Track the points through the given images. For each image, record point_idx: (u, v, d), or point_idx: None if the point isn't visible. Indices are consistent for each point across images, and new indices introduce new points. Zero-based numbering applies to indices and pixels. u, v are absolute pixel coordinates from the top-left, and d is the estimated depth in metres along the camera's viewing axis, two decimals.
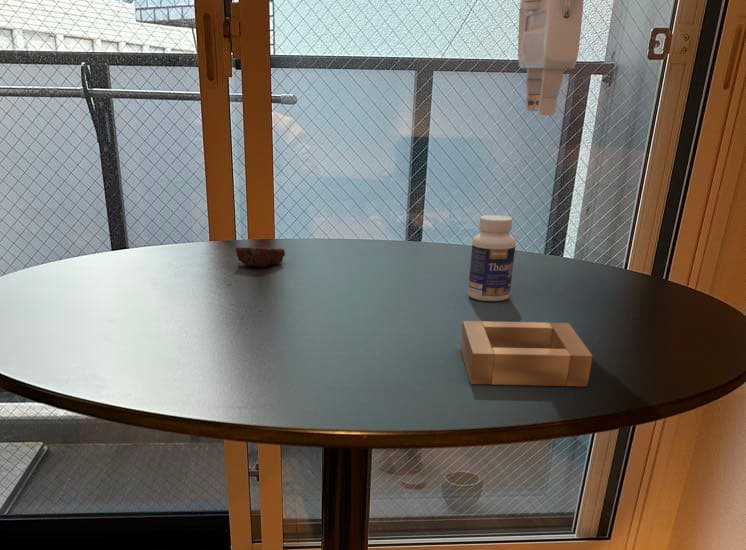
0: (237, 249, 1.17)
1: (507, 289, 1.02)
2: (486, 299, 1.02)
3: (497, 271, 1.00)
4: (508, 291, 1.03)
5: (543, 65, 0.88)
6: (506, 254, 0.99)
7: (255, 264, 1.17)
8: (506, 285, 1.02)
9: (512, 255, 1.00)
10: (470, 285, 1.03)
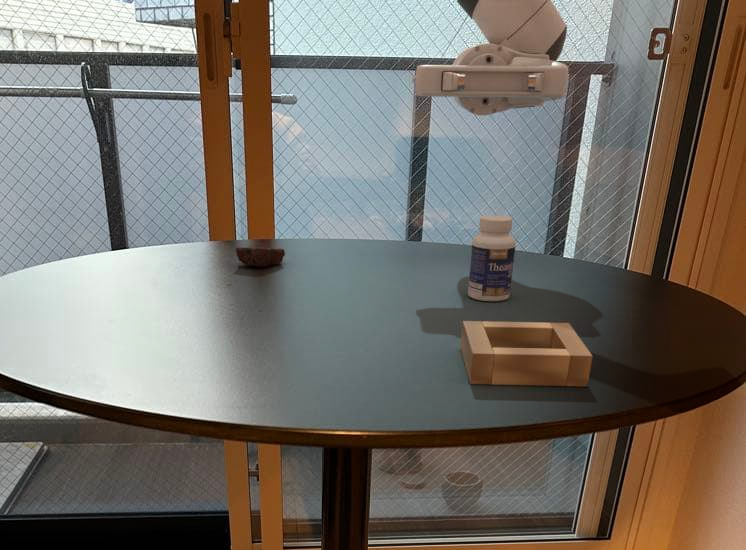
0: (237, 249, 1.17)
1: (507, 289, 1.02)
2: (486, 299, 1.02)
3: (497, 271, 1.00)
4: (508, 291, 1.03)
5: (423, 95, 1.08)
6: (506, 254, 0.99)
7: (255, 264, 1.17)
8: (506, 285, 1.02)
9: (512, 255, 1.00)
10: (470, 285, 1.03)
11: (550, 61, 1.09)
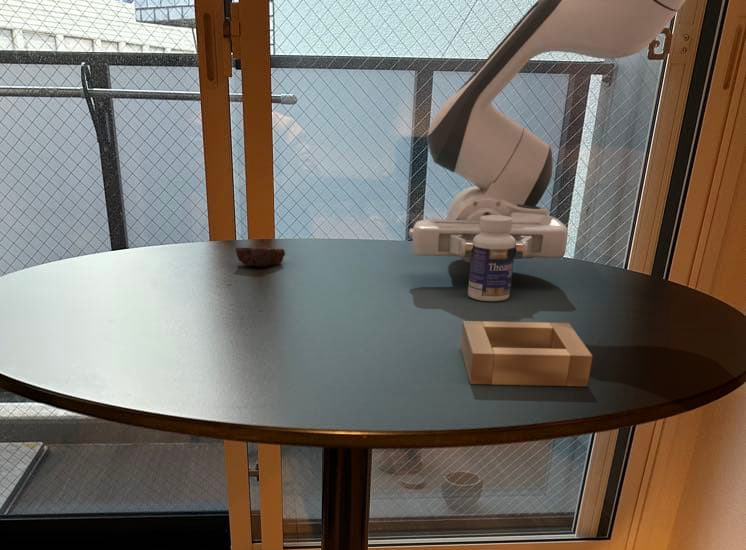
0: (237, 249, 1.17)
1: (507, 289, 1.02)
2: (486, 299, 1.02)
3: (497, 271, 1.00)
4: (508, 291, 1.03)
5: (420, 255, 1.06)
6: (506, 254, 0.99)
7: (255, 264, 1.17)
8: (506, 285, 1.02)
9: (512, 255, 1.00)
10: (470, 285, 1.03)
11: (549, 218, 1.08)
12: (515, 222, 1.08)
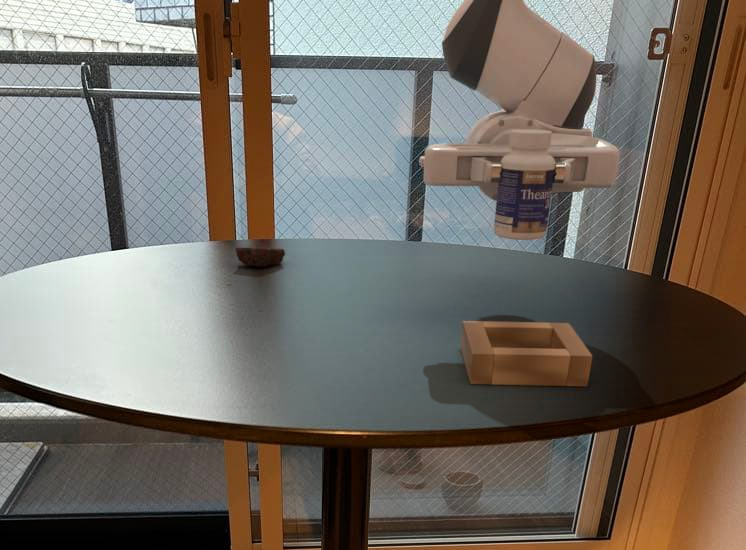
0: (237, 249, 1.17)
1: (544, 224, 0.81)
2: (517, 237, 0.81)
3: (532, 200, 0.79)
4: (545, 227, 0.81)
5: (433, 185, 0.85)
6: (543, 177, 0.78)
7: (255, 264, 1.17)
8: (542, 219, 0.80)
9: (551, 179, 0.79)
10: (497, 220, 0.82)
11: (594, 139, 0.86)
12: (552, 145, 0.87)
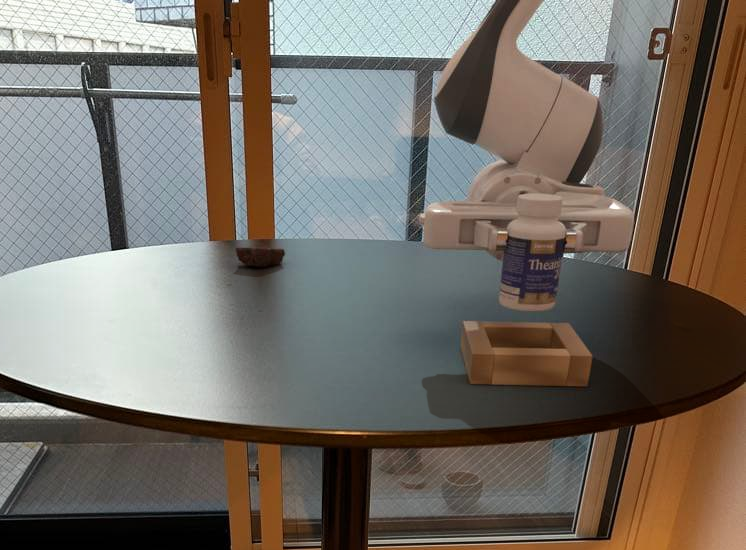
0: (237, 249, 1.17)
1: (553, 294, 0.75)
2: (524, 308, 0.75)
3: (541, 270, 0.73)
4: (554, 297, 0.75)
5: (434, 248, 0.79)
6: (553, 246, 0.72)
7: (255, 264, 1.17)
8: (551, 289, 0.74)
9: (561, 248, 0.73)
10: (502, 289, 0.76)
11: (607, 199, 0.80)
12: None
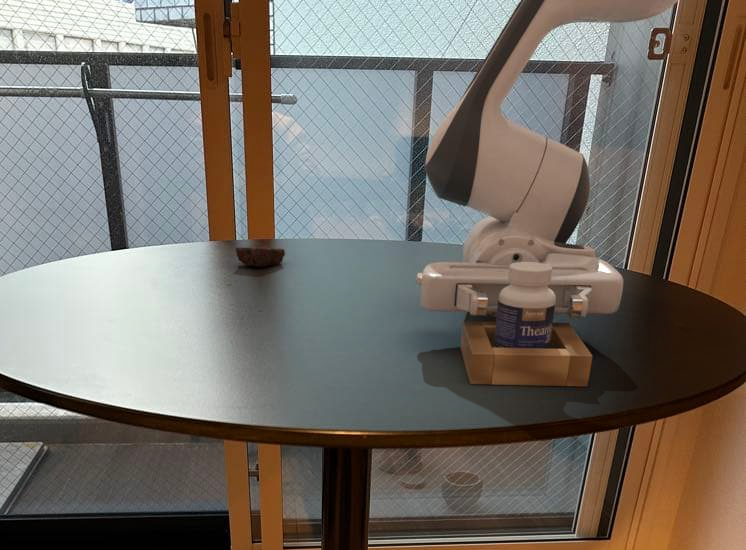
0: (237, 249, 1.17)
1: None
2: None
3: (532, 336, 0.76)
4: None
5: (431, 310, 0.82)
6: (544, 314, 0.75)
7: (255, 264, 1.17)
8: None
9: (551, 315, 0.76)
10: None
11: (597, 262, 0.83)
12: (553, 266, 0.84)
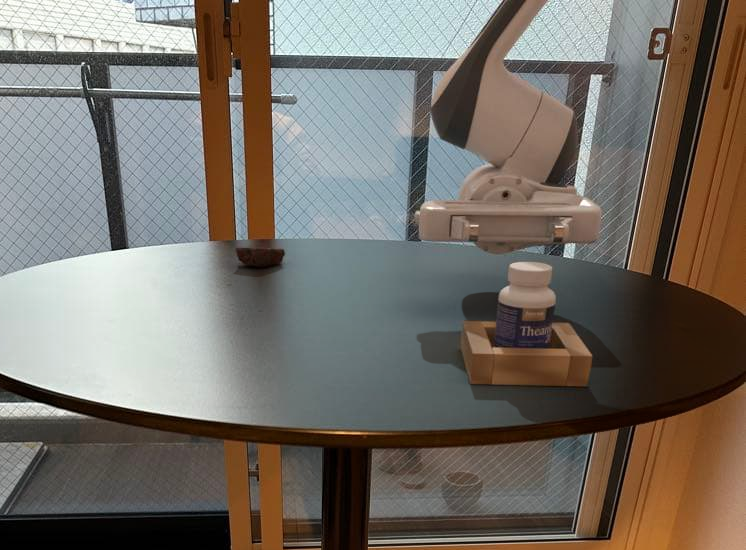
0: (237, 249, 1.17)
1: None
2: None
3: (532, 336, 0.76)
4: None
5: (428, 241, 0.90)
6: (544, 314, 0.75)
7: (255, 264, 1.17)
8: None
9: (551, 315, 0.76)
10: None
11: (579, 198, 0.92)
12: (539, 202, 0.93)
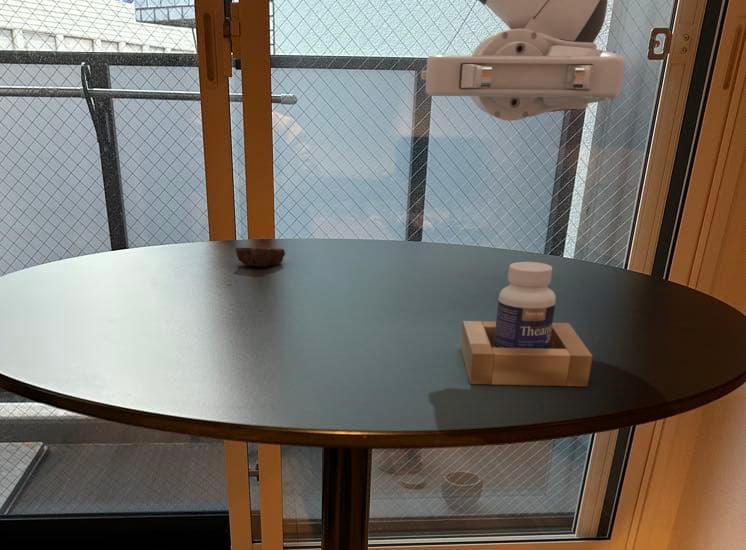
0: (237, 249, 1.17)
1: None
2: None
3: (532, 336, 0.76)
4: None
5: (436, 94, 0.83)
6: (544, 314, 0.75)
7: (255, 264, 1.17)
8: None
9: (551, 315, 0.76)
10: None
11: (599, 51, 0.85)
12: None
